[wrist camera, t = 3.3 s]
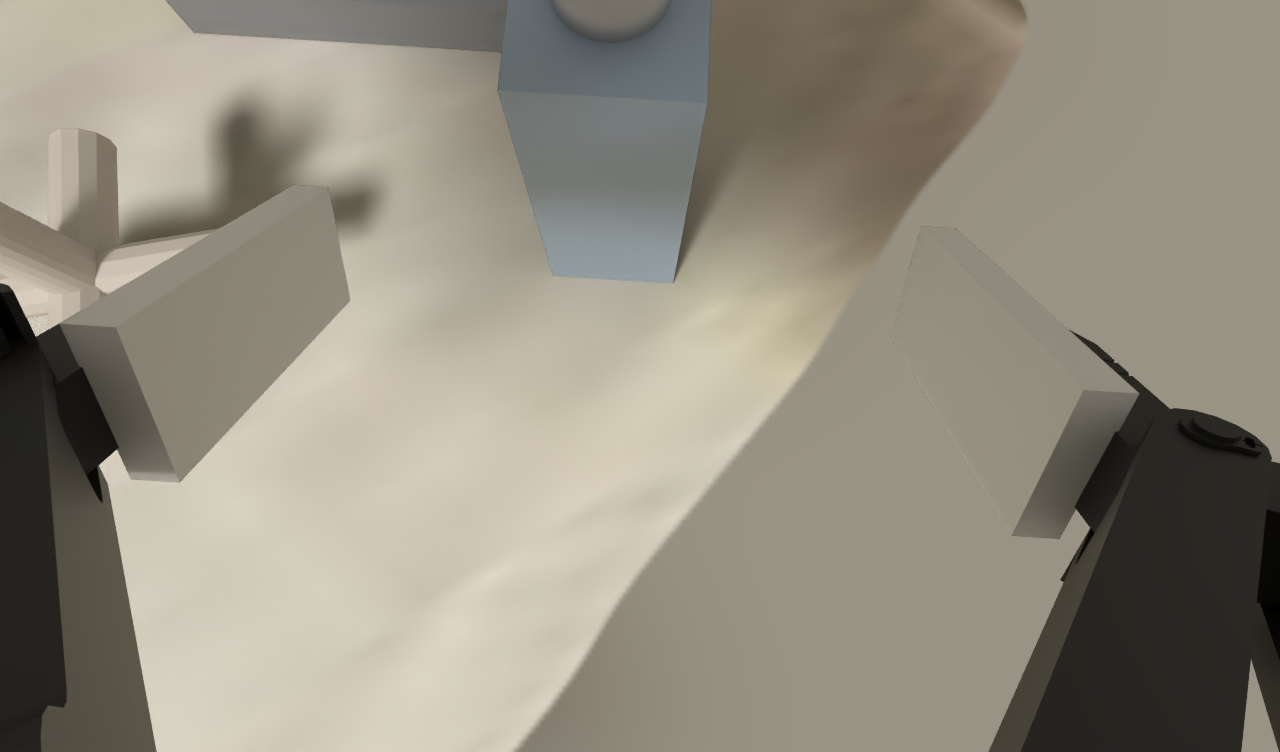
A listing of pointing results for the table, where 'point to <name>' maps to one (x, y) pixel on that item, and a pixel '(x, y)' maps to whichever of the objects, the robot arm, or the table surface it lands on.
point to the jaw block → (607, 127)
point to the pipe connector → (76, 234)
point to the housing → (355, 21)
